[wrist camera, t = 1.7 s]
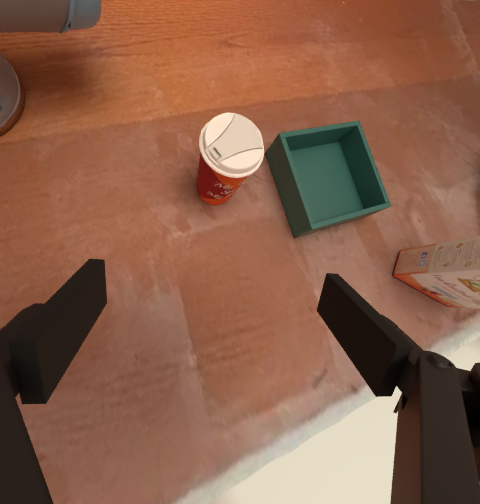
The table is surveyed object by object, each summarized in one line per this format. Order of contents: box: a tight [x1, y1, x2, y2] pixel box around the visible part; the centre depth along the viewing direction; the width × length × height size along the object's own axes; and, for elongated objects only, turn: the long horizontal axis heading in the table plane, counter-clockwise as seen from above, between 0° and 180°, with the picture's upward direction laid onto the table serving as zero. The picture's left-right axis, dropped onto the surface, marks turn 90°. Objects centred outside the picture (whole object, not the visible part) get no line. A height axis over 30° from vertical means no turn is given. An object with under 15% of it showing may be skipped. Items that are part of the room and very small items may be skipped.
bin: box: [266, 121, 391, 238], centre depth 45 cm, size 16×16×6 cm
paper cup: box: [197, 113, 264, 205], centre depth 36 cm, size 8×8×14 cm
